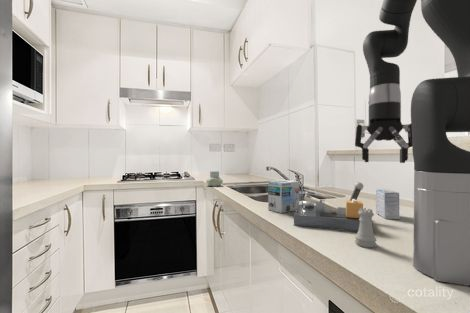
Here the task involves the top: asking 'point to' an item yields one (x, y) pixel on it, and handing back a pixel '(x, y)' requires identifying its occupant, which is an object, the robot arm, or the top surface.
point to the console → (324, 217)
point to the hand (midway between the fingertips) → (384, 162)
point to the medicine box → (387, 204)
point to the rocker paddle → (326, 204)
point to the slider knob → (353, 208)
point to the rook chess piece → (365, 229)
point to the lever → (356, 190)
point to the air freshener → (214, 179)
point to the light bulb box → (283, 195)
